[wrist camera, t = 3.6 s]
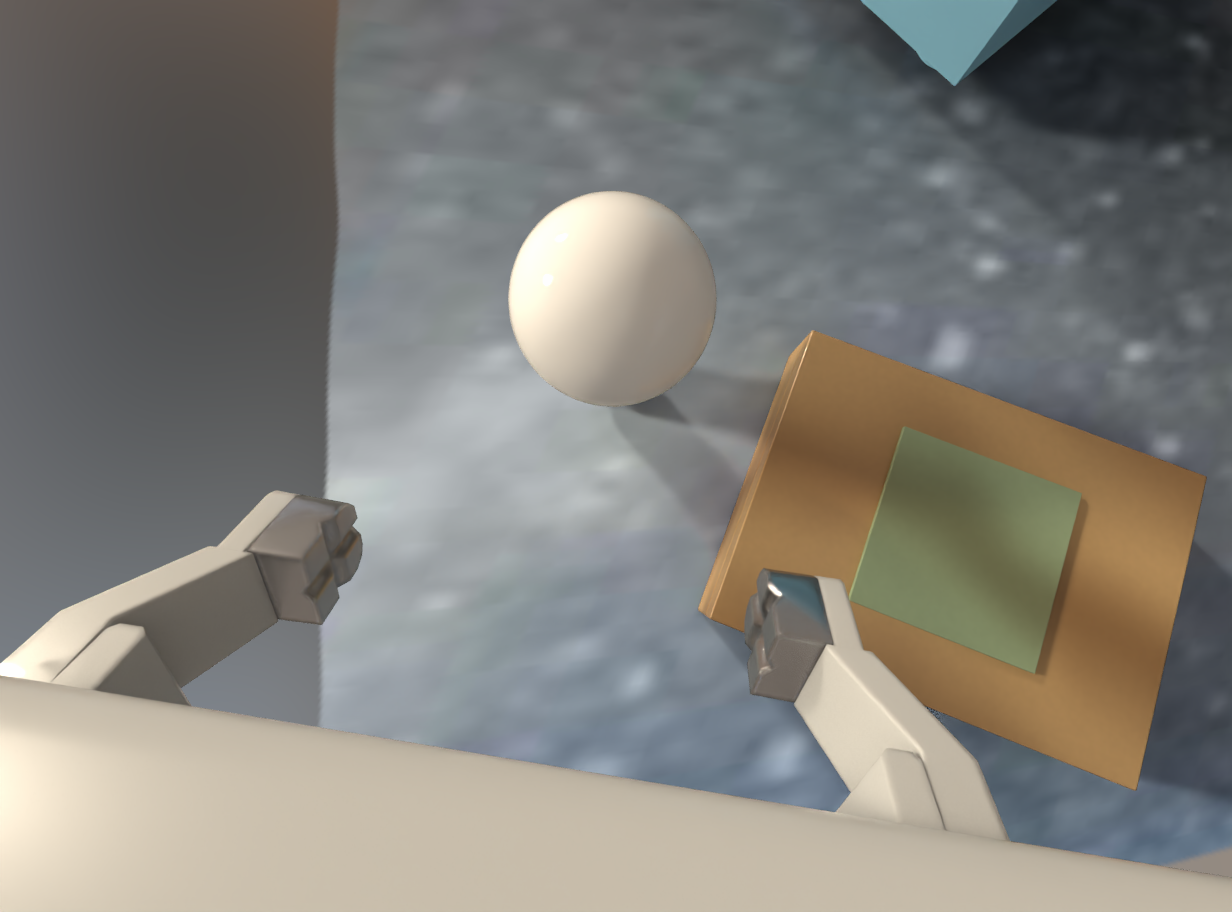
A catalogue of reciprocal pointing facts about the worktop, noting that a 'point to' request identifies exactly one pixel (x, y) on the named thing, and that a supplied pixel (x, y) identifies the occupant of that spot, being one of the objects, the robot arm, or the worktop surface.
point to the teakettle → (957, 29)
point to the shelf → (971, 549)
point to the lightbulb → (612, 298)
